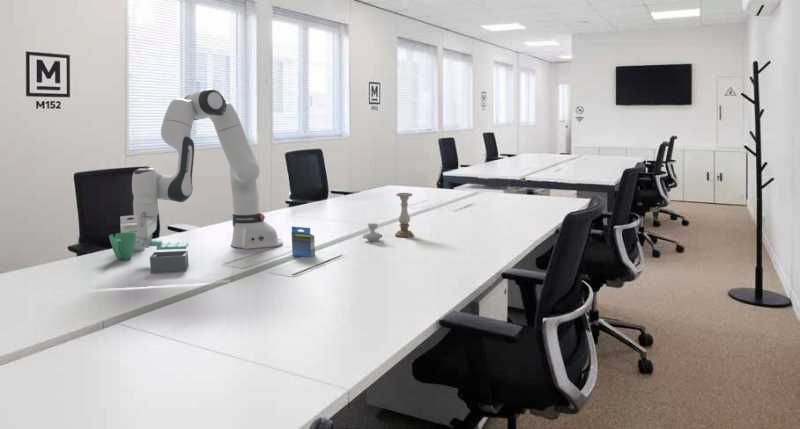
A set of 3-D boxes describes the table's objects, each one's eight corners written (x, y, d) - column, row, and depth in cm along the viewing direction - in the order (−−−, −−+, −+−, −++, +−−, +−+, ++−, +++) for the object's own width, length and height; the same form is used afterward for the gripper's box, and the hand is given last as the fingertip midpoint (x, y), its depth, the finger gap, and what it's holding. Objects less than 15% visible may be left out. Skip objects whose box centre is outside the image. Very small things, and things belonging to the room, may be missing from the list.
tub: (188, 267, 236) (187, 250, 235) (185, 273, 228) (184, 255, 226) (155, 269, 234) (154, 252, 233) (151, 275, 225) (149, 257, 224)
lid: (188, 244, 246) (187, 238, 246) (185, 248, 239) (185, 242, 239) (144, 246, 243) (144, 239, 242) (140, 250, 236) (140, 243, 235)
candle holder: (393, 237, 295) (393, 194, 291) (396, 233, 303) (396, 192, 300) (412, 237, 293) (412, 195, 290) (414, 234, 302) (414, 192, 299)
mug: (115, 256, 255) (113, 232, 253) (140, 256, 256) (138, 232, 255) (104, 265, 240) (102, 239, 239) (130, 264, 242) (129, 239, 240)
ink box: (123, 252, 263) (121, 217, 261) (121, 250, 267) (119, 216, 265) (145, 249, 268) (142, 216, 265) (142, 247, 272) (140, 214, 269)
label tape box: (315, 255, 257) (314, 226, 255) (310, 257, 253) (310, 227, 251) (296, 253, 260) (295, 224, 258) (291, 255, 256) (290, 226, 254)
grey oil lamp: (381, 239, 290) (381, 221, 289) (383, 242, 283) (383, 224, 282) (362, 240, 288) (361, 222, 287) (363, 242, 282) (363, 224, 281)
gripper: (150, 214, 228) (152, 251, 230) (159, 206, 248) (160, 240, 250) (131, 215, 227) (133, 252, 229) (142, 207, 246) (144, 241, 249)
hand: (148, 246), depth 240 cm, fingers closed on lid, 3 cm apart
